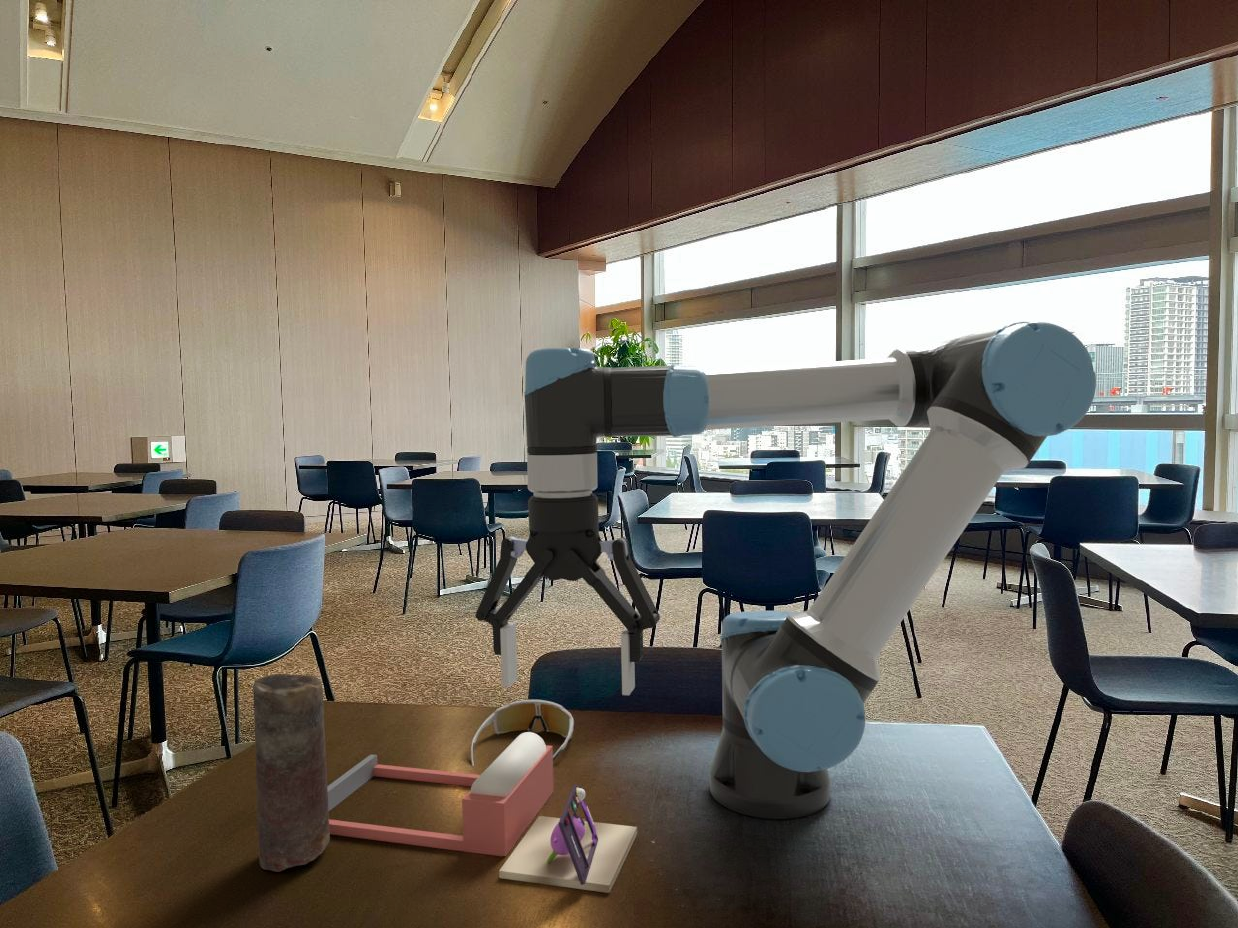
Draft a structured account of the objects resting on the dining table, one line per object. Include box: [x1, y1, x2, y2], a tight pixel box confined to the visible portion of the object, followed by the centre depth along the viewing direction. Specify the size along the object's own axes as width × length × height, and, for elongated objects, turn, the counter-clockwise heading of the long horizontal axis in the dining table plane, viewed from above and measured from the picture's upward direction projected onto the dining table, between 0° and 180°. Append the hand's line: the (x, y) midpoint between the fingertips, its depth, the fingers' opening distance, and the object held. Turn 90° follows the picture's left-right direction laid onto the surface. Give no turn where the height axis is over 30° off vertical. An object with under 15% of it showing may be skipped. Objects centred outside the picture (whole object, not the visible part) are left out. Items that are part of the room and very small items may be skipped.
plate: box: [498, 815, 638, 894], centre depth 89 cm, size 12×12×1 cm
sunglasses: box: [470, 699, 575, 767], centre depth 119 cm, size 14×15×5 cm
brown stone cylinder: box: [252, 673, 331, 873], centre depth 90 cm, size 8×7×20 cm
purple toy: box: [547, 783, 598, 885], centre depth 87 cm, size 7×5×9 cm
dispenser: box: [327, 731, 555, 858], centre depth 100 cm, size 26×16×8 cm, turn 75°
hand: (568, 687), depth 89 cm, fingers open, 13 cm apart
